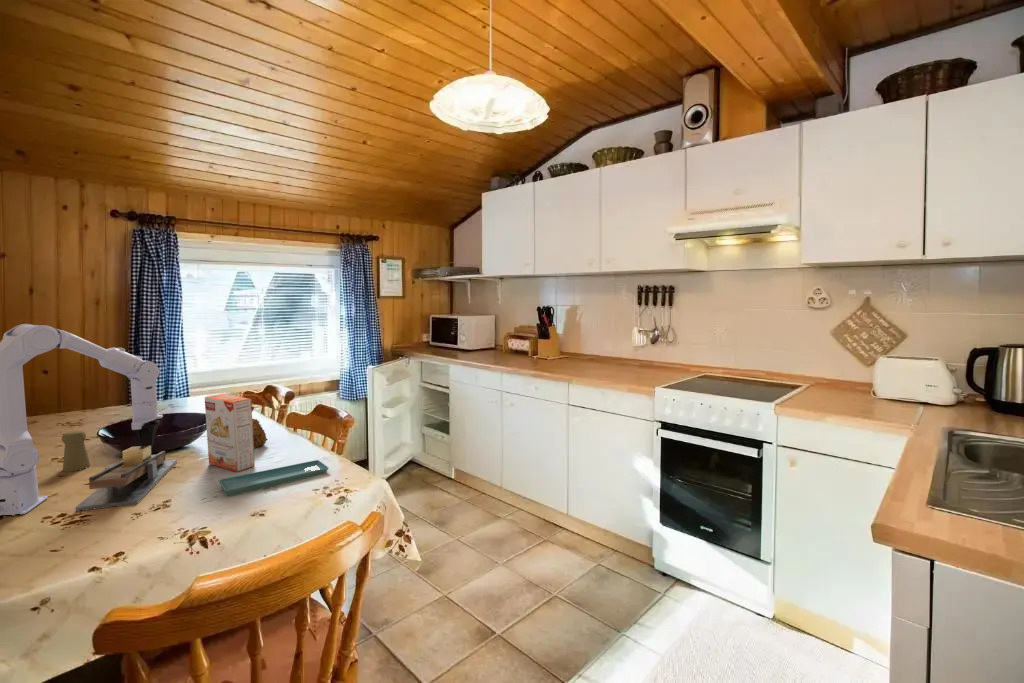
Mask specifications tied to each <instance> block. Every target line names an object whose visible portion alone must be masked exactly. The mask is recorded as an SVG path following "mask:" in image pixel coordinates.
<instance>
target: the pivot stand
mask: <svg viewBox="0 0 1024 683" xmlns="http://www.w3.org/2000/svg"><path fill="white" fill-rule="evenodd" d="M177 463H178V459H165V461H164V462H162V463H161V464H159V465H157V462H156V460H153V461H150V462H149V463H148V464H147V472H146V473H145V474H143V475H141V476H140V477H138V478H137V479H135V480H133V481H132V482H130V483H129V484H127V485H125V486H117V487H108V488H99V489H95V491H94V492H92V493H91V494H90V495H89V496H87V497H86V498H85V499H84V500H83V501H81V502H80V503H78V504H77V505H76V506H75V512H79V511H78V510H83V511H87V510H86V509H91V510H95V509H94V508H100V509H103V508H102V507H108V508H115V507H114V506H117V507H124V505H126V506H132V505H133V504H134V505H138V504H139V503H140V502H141V501H142V500H143V499H144V498H145V497H144V496H146V495H148V494H149V493H150V492H151V490H152V489H153V488H154V487H155V486H156V485H157V484H158V483H159V482H160V481H161V480H162V479H163V478H164V477H163V476H164V475H165V474H166V475H167V474H168V473H169V471H171V470H172V468H173V467H174V466H175V465H176V464H177ZM115 464H116V463H112V464H111V463H110V464H109V465H108V466H106V467H104V470H105V469H107V468H109V467H111V466H113V465H115ZM166 475H165V476H166ZM162 477H163V478H162ZM161 478H162V479H161ZM160 479H161V480H160ZM159 480H160V481H159ZM158 481H159V482H158ZM157 482H158V483H157ZM156 483H157V484H156ZM155 484H156V485H155ZM154 485H155V486H154ZM153 486H154V487H153ZM152 487H153V488H152ZM150 489H151V490H150ZM143 497H144V498H143ZM142 498H143V499H142ZM141 499H142V500H141ZM140 500H141V501H140ZM139 501H140V502H139ZM112 506H113V507H112Z"/></svg>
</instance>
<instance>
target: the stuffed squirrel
mask: <svg viewBox="0 0 1024 683" xmlns="http://www.w3.org/2000/svg"><path fill="white" fill-rule="evenodd" d="M254 409H255V406H252V412H254ZM252 425H253V444H254V448H255V449H256V448H259V447H262V446H264V445H265V444H266V443H267V441H268V438H267V434H266V432H265V430H264V428H263V427H262V426H263V425H261V424H260V421H259V420H258V419H257V418H252Z"/></svg>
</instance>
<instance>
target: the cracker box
mask: <svg viewBox="0 0 1024 683" xmlns="http://www.w3.org/2000/svg"><path fill="white" fill-rule="evenodd" d="M204 408H205V409H204V410H205V411H204V412H205V423H206V438H207V439H206V441H207V451H208V452H207V456H208V464H209V465H213V466H216V467H219V468H222V469H225V470H229V471H232V472H235V473H239V472H242V471H245V470H247V469H250V468H254V467H255V450H254V444H253V425H252V419H253V411H252V399H251V398H249V397H248V398H247V397H242V396H237V395H233V394H232V395H231V394H226V393H218V394H213V395H212V394H211V395H208V396H205V397H204Z"/></svg>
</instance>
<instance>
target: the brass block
mask: <svg viewBox="0 0 1024 683" xmlns="http://www.w3.org/2000/svg"><path fill="white" fill-rule="evenodd" d="M151 455H152V447H151V445H148V446H142V445H138V446H131V447H129V448H127V449H125V450H122V461H123V466H129V465H139V464H140V463H142V462H144V461H146V460H148V459H149V458H151Z"/></svg>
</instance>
